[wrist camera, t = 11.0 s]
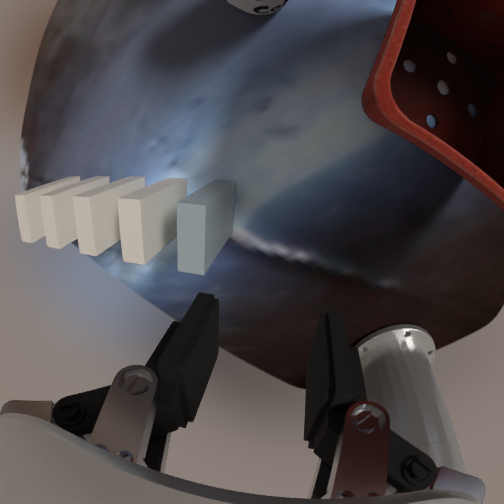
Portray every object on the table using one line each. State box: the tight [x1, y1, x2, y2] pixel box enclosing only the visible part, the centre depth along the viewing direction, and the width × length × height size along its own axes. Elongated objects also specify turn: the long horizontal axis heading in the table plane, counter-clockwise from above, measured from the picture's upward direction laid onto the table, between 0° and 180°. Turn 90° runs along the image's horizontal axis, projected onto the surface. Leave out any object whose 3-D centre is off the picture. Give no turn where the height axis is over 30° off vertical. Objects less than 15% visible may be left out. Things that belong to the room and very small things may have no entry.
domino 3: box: [73, 177, 145, 256], centre depth 24 cm, size 5×2×9 cm, turn 176°
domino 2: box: [40, 176, 109, 249], centre depth 24 cm, size 5×2×9 cm, turn 176°
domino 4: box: [117, 178, 187, 265], centre depth 23 cm, size 5×2×9 cm, turn 175°
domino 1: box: [15, 177, 80, 243], centre depth 25 cm, size 5×2×9 cm, turn 176°
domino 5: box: [177, 181, 236, 275], centre depth 23 cm, size 5×2×9 cm, turn 175°
